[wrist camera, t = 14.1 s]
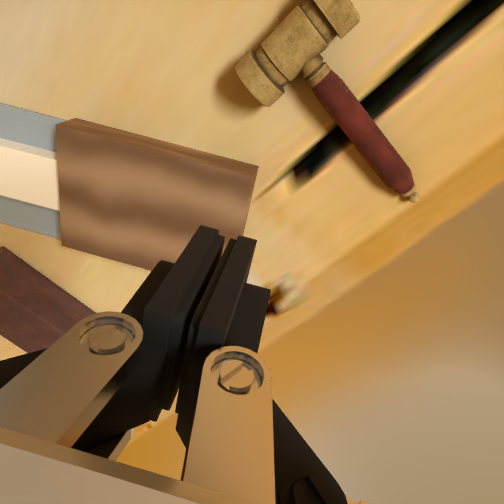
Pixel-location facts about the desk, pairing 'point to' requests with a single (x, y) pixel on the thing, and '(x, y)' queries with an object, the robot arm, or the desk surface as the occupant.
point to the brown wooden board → (144, 194)
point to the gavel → (322, 81)
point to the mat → (37, 135)
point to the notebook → (34, 306)
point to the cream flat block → (29, 174)
